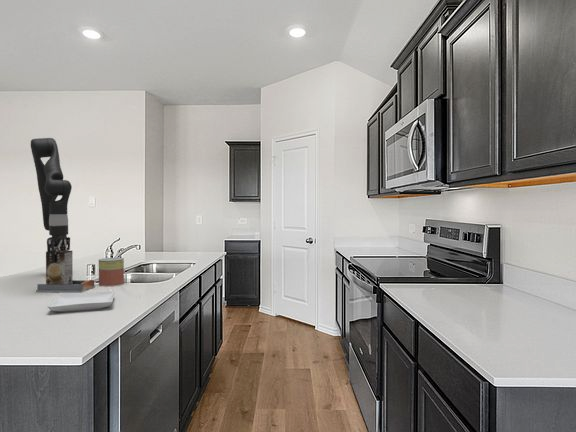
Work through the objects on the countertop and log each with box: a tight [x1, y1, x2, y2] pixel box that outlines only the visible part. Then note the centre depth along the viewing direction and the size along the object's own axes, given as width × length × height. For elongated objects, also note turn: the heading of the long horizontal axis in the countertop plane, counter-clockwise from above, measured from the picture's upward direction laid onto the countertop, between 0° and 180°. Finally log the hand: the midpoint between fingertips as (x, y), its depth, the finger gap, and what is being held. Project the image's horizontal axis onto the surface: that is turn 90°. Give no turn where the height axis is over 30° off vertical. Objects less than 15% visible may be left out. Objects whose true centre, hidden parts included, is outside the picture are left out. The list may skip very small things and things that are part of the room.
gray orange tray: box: [36, 279, 96, 294], centre depth 187 cm, size 12×20×4 cm, turn 88°
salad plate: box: [47, 290, 115, 313], centre depth 158 cm, size 21×21×3 cm
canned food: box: [98, 257, 125, 287], centre depth 200 cm, size 11×11×12 cm
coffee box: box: [45, 250, 73, 284], centre depth 186 cm, size 9×6×16 cm
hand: (59, 261), depth 186 cm, fingers closed on coffee box, 6 cm apart
